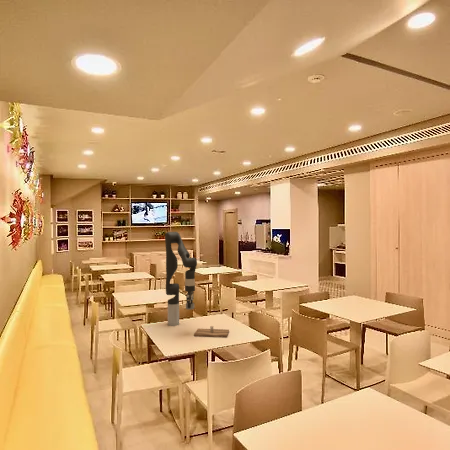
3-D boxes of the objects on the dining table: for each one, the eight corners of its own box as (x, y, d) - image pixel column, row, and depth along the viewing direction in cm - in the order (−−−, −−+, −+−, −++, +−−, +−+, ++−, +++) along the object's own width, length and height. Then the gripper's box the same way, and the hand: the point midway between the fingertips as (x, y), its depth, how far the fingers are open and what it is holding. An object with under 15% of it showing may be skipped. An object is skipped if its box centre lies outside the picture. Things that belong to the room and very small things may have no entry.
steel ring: (187, 307, 272) (187, 302, 272) (194, 307, 271) (194, 302, 271) (185, 309, 266) (185, 303, 266) (193, 309, 265) (193, 304, 265)
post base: (197, 330, 275) (197, 323, 275) (229, 331, 272) (229, 324, 272) (194, 336, 261) (194, 328, 261) (226, 337, 258) (226, 329, 258)
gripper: (187, 282, 276) (187, 304, 276) (182, 286, 261) (182, 309, 262) (196, 283, 275) (197, 304, 275) (192, 286, 261) (192, 309, 261)
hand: (190, 306), depth 268 cm, fingers closed on steel ring, 6 cm apart
